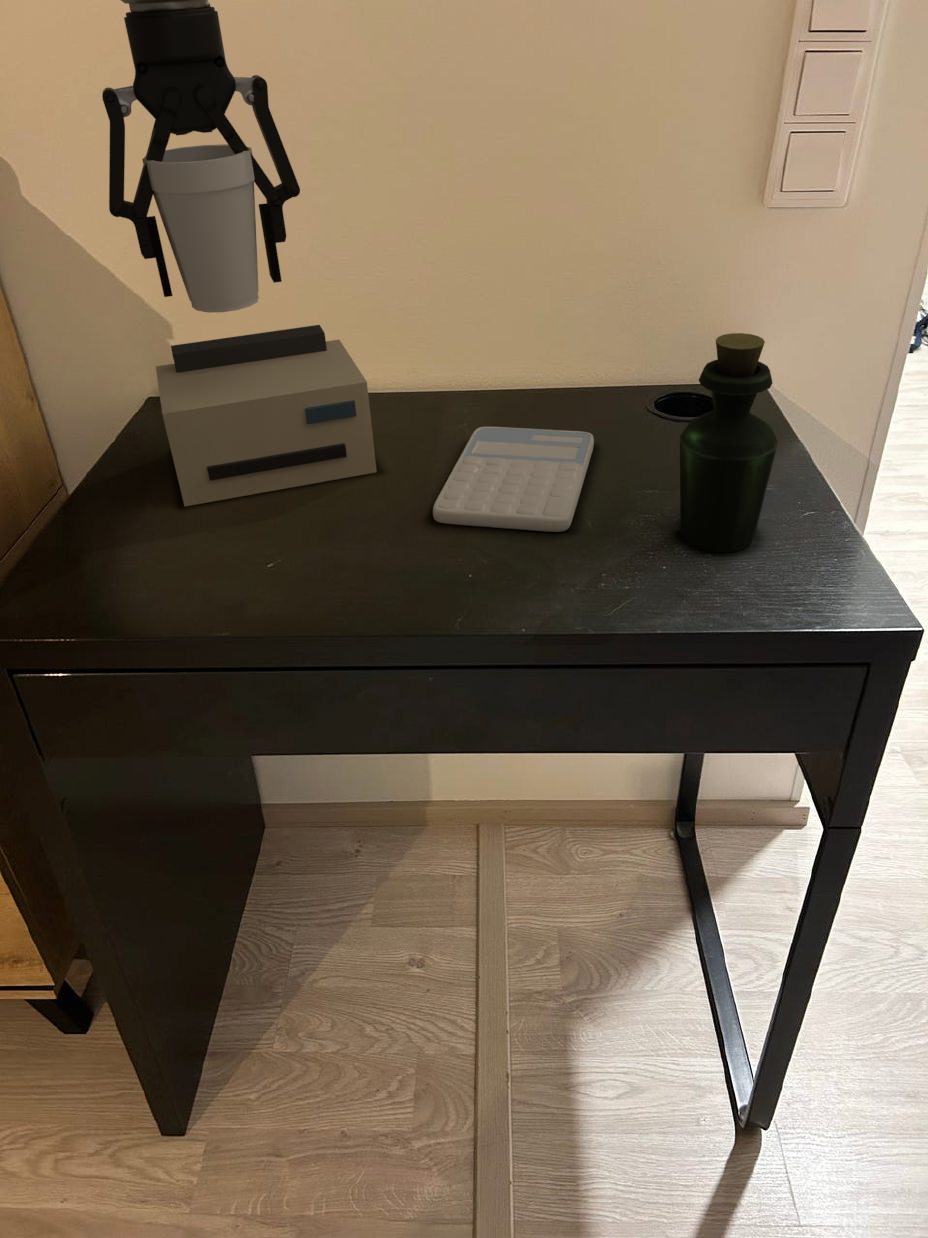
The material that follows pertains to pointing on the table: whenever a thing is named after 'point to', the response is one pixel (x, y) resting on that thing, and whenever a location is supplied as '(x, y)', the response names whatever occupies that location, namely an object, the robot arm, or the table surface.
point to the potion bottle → (727, 451)
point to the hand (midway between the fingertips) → (222, 285)
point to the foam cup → (210, 223)
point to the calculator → (516, 479)
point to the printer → (264, 414)
